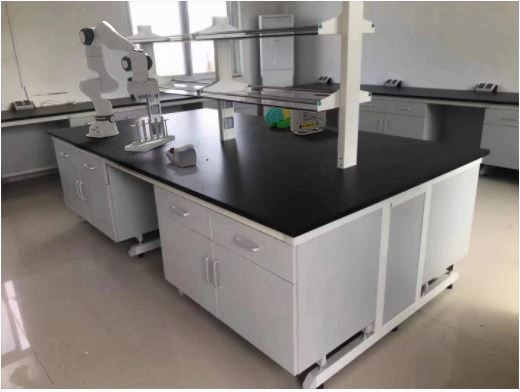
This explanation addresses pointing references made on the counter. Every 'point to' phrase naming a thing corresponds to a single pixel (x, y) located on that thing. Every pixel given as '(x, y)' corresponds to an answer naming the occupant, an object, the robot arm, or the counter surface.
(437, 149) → the counter surface
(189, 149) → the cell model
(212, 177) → the counter surface
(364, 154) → the counter surface
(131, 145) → the tray
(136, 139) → the test tube rack
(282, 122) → the brain model
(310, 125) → the network device
